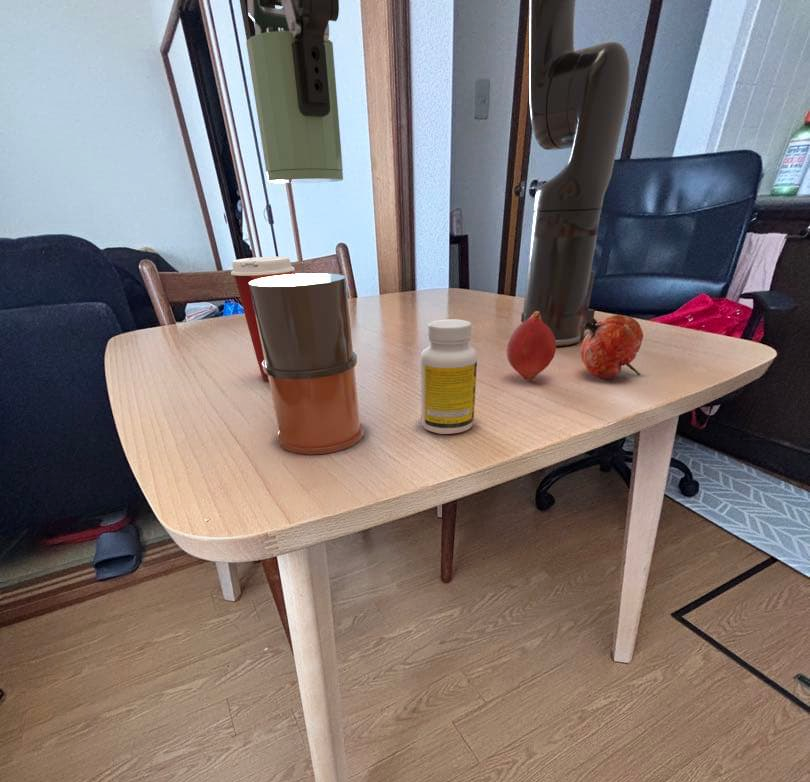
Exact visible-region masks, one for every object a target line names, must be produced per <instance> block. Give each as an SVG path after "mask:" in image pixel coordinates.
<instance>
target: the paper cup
mask: <svg viewBox="0 0 810 782" xmlns="http://www.w3.org/2000/svg"><path fill="white" fill-rule="evenodd" d="M231 264H232V270H231V272H230V275H232V276H233V277H234V280H235V285H236V287H237V291H238V295H239V298H240V302H241V306H242V309H243V313H244V317H245V320H246V324H247V329H248V331H249V335H250V338H251V343H252V347H253V349H254V350H253V351H254V355H255V357H256V361H257V364H258V368H259V371H260V374H261V377H262V379H263V381H266V382H269V379H268V375H267V374H266V373H265V372H264V371H263V366H262V362H263V361H264V360H265V359H264V354H263V349H262V344H261V340H260V335H259V330H258V325H257V320H256V315H255V310H254V305H253V300H252V296H251V291H250V286H249V283H250V282H251V281H253V280H257V279H261V278H267V277H273V276H282V275H293V274H294V271H295V267H294V266H292V263H291V259H290V257H289V256H258V257H247V258H239V259H233V260H232V263H231Z"/></svg>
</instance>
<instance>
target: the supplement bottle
mask: <svg viewBox="0 0 810 782" xmlns="http://www.w3.org/2000/svg"><path fill="white" fill-rule="evenodd" d="M471 337H472V322H471V321H468V320H465V319H457V318H456V319H455V318H454V319H453V318H451V319H450V318H449V319H438V320H432V321H430V322H429V323H428V324H427V340H428V342H430V343H429V344H430V345H429V346H426V347H425V348H424V349H423V350H422V352H421V354H420V402H421V403H420V414H421V418H420V420H421V425H422V427H423V428H424V429H425V430H427V431H429V432H432V433H434V434H440V435H451V434H452V435H453V434H460V433H463V432H467V431H468V430H470V429H471V428H472V427H473V424H474V422H475V421H474V419H475V405H476V403H475V402H476V387H477V370H478V369H477V368H478V354H477V351H476V349H475V348H474V347H473V346H471V345H469V341H471Z"/></svg>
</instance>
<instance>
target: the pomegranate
mask: <svg viewBox="0 0 810 782" xmlns="http://www.w3.org/2000/svg"><path fill="white" fill-rule="evenodd" d="M584 327H587V328H588V331H589V333H587V334H586V335H585V336H584V338H583V339H582V340H583V341H582V343H581V347H580V355H581V357H580V358H581V362H582V364H583V365H584V366H585V368H586V370H587V371H588V372H589V373H590V375H592V376H594V377H596V378H599V379H603V380H609V379H612V378H613V379H614V378H615V377H617V376H618V374H620V372H621V370H622V366H626V367H628V368H629V369H630V370H632V371H633V372H634V373H635V374H636V375H637V376H641V373H640V372H639V371H638V370H637V369H636V368H635V367H634V366H633V365H632V364H631V363H632V362H633V360H634V359H635V358H636V356H637V353H638V352H639V351H640V348H641V346H642V341H643V339H644V332H643V329H642V327H641V324H640V323H639V322H638V321H637V320H636V319H635V318H633V317H632V316H628V315H624V314H621V315H620V314H615V315H610V316H609V317H606V318H604V319H603V320H601V321H597V324H596V325H593V324H591V323H588V322H586V323H585V325H584V326H583V328H584Z"/></svg>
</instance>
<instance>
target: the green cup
mask: <svg viewBox="0 0 810 782" xmlns="http://www.w3.org/2000/svg"><path fill="white" fill-rule="evenodd" d="M294 41H298V40H297V39H294V38H292V37H291V34H290V31H280V30H279V31H275V32H267V31H266V33H261V34H258V35H255V36H252V37H251V38H250V39H249V40H248V41H247V40H246V44H245V45H246V48H247V49H246V50H247V55H248V56H247V57H248V63H249V69H250V70H249V71H250V75H251V76H250V77H251V81H252V82H251V83H252V88H253V96H254V102H255V107H256V108H255V109H256V114H257V123H258V127H259V134H260V140H261V147H262V154H263V160H264V167H265V172H266V176H267V182H269V183H274V184H314V183H315V184H317V183H334V182H341V181H343V180H344V173H343V172H344V171H343V170H344V169H343V168H344V167H343V158H342V156H343V155H342V144H341V143H342V141H341V131H340V118H339V108H338V107H339V106H338V96H337V95H338V93H337V81H336V69H335V56H334V55H335V53H334V44H333V42H332V41H331V40H330V39H329V38H328V41H327V43H324V45H325V52H326V64H327V75H328V87H329V99H330V112H329V114H328V115H326V116H324V117H314V116H304V115H303V114H302V113H301V112H300V110H299V106H298V97H297V88H296V79H295V71H294V62H293V53H292V43H293V42H294Z"/></svg>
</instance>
